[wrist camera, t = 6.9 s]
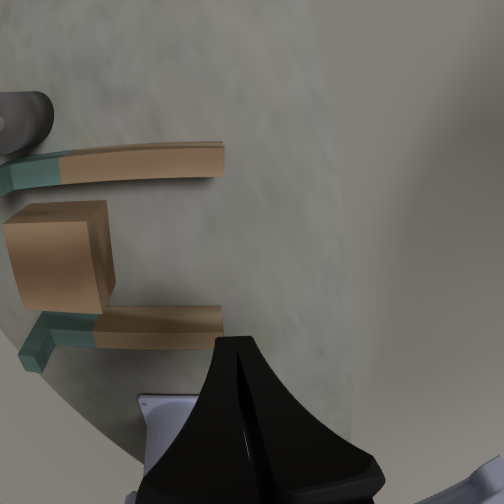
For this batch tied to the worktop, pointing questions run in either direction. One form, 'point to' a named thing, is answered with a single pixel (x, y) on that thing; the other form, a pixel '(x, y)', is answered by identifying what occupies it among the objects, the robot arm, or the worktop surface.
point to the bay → (92, 170)
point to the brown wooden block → (62, 256)
